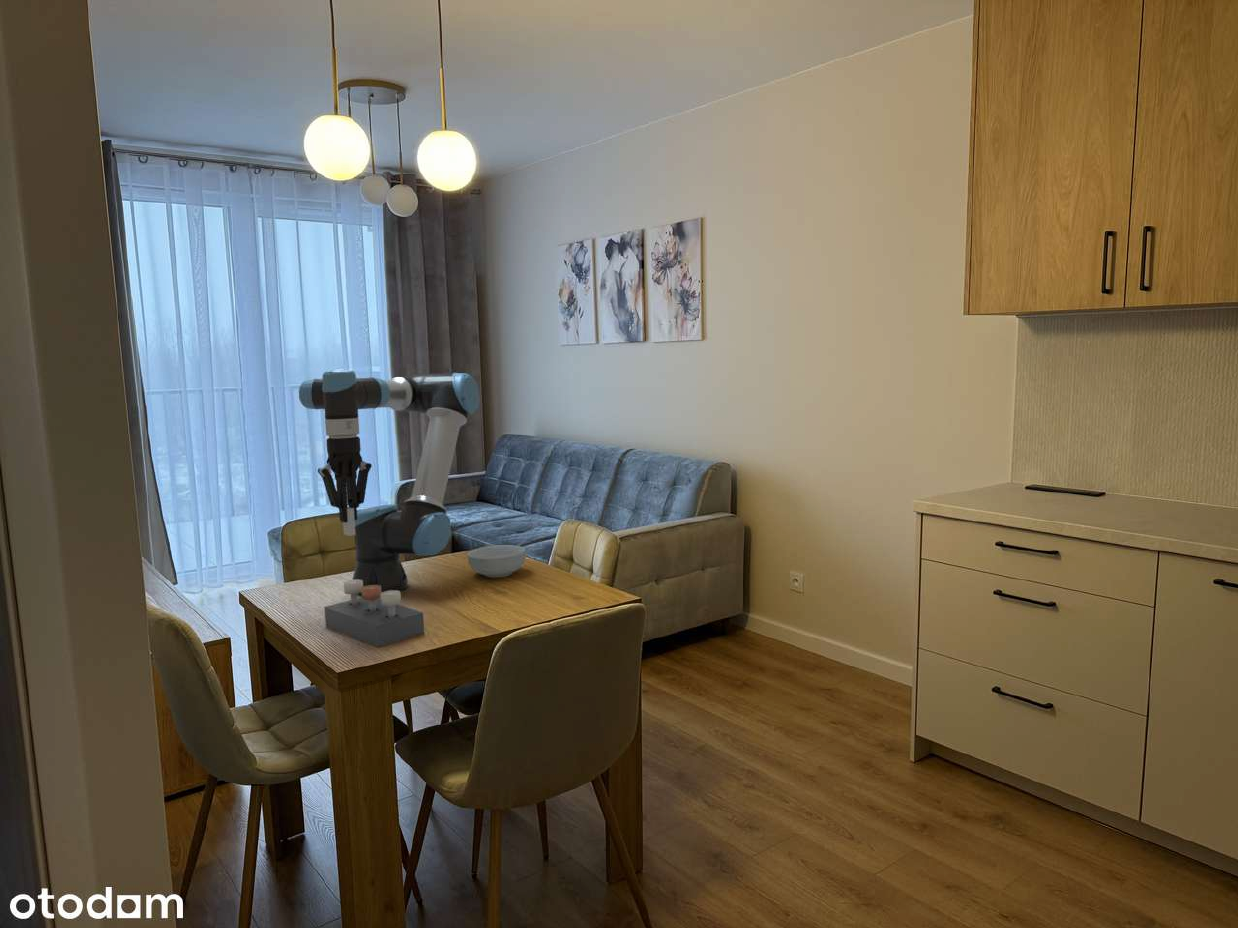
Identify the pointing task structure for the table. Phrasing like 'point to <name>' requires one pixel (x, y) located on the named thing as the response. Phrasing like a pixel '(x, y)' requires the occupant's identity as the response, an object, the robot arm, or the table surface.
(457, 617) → the table surface
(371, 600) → the rust knob middle
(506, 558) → the cereal bowl
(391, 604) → the cream knob
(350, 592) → the cream knob
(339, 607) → the knob panel
